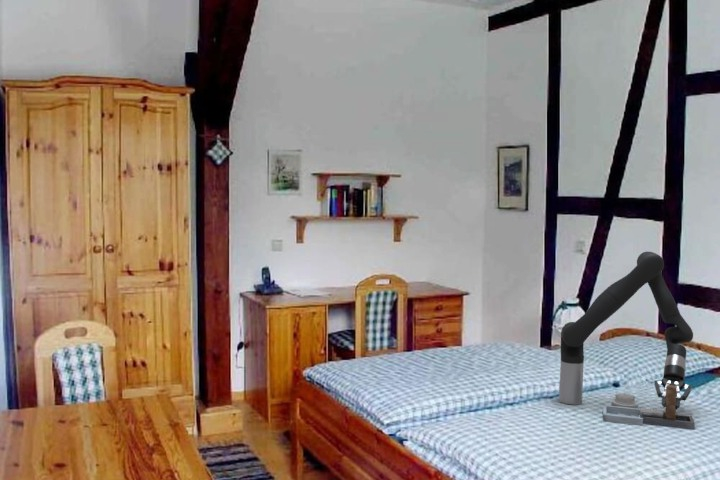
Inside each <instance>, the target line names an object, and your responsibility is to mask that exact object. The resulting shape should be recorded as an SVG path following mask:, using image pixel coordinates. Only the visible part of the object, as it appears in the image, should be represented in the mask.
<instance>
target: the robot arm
mask: <svg viewBox="0 0 720 480" xmlns="http://www.w3.org/2000/svg"><path fill="white" fill-rule="evenodd" d="M664 266H665V261H664V259H663V258H662V256H660V254H657V253H656V252H652V251H644V252H641V253H640V254H639V255H638V257H637V259H636V266H635V267H634V268H633V269H632V270H631V271H630V272H629V273H628V274H626V275H625V276H623V277H621V278H620V279H618V280H616V281H615V282H613V283H612V284H610V285H609V286H608V287H606V289H605V290H603V291H602V292H600V294H599V295H597V297H596V299H594V301H593V302H592V303H591V305H590V307H588V309H587V310H586V311H585V313H583V315H581V317H579V318H578V319H577V320H576V321H575V322H574V321H570V322H567V323H565V324H564V325H562V328H561V331H560V332H561V333H560V371H559V385H558V386H559V387H558V389H559V390H558V403H562V404H565V405H575V406H576V405H581V404H583V390H584V389H583V387H584V385H583V384H584V364H585V363H584V360H585V355H584V353H585V352H584V346H585V345H584V343H585V341H586V340H587V339H588V338H589V337H590V336H591V334H593V333H594V331H595V330H596V329H597V328H598V327H599V326H601V324H603V323H604V322H606V321H607V320H608V319H609V318H610V317H611V316H613V315H614V314H615V313H616V312H618V311H619V309H621V308H622V307H623V306H624V305H625V304H626V303H627V302H628V301H629V300H630V299H631V298H632V297H633V296H634V295H635V294H636V293H637V292H638V291H639V290H640V289H641V288H642V287H643V286H645V285H646V284H648V286H649V289H650V291H651V293H652V295H653V299H654V301H655V304H656V306H657V310H658V312H659V314H660V316H661V319H662V321H663V322H664V323H666V324H672V325H675V326H671V327H668V328H666V329H665V331H664V339H665V344H666V357H665V361H664V367H663V368H664V369H663V375H662V376H663V377H662V379H661V381H658V380H654V381H653V383H654V388H655V393H656V395H657V397H658V398H661V406H662V407H663V408H666V386H667V385H673V386H677V390H676V405H675V409H676V410H678V409H680V407H681V401H684V402H685V401H686V400H687V399H688V397H689V395H690V393H691V392H692V391H693V389H692V388H693V387H692V385H690V384H687V383H685V375H686V365H687V364H686V359H687V349H686V347H685V345H682V344H685V343H691V341H693V338H694V332H693V329H692V328H691V326H690V325H689V324H688V322H687V321H686V320H685V318H684V317H683V316H682V315H681V312H680V310H679V307H678V305H677V303H676V301H675V298H674V297H673V294H672V293H671V291H670V290H669V288H668V285H667V284H666V281H665V279H664V277H663V273H662V271H663V270H664ZM661 386H662V387H663V388H664V389H663V391H662V392H661V389H660V388H661ZM683 389H684V392H683V394H682V395H681V391H682V390H683Z"/></svg>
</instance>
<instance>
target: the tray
mask: <svg viewBox="0 0 720 480" xmlns="http://www.w3.org/2000/svg"><path fill="white" fill-rule="evenodd" d="M609 413H610V414H609ZM618 413H620V414H621V415H620V414H618ZM627 414H629V416H627ZM636 415H640V408H637V407H636V408H627V407H618V406H614V405H606V404H603V405H602V421H603V422H609V423H618V424H627V425H633V424H635V425H636V424H637V425H636V426H642V425H644V424H643V418H640V417H638V416H637V417H635V416H636Z"/></svg>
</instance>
